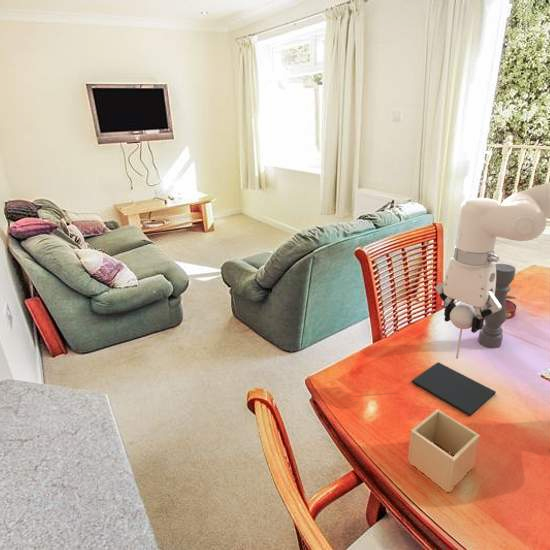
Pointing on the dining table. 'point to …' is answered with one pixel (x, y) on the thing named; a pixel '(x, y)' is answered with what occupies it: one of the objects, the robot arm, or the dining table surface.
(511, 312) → the canned food
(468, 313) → the lollipop
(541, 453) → the dining table surface
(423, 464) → the box
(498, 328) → the candle holder
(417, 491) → the dining table surface
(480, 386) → the mat
